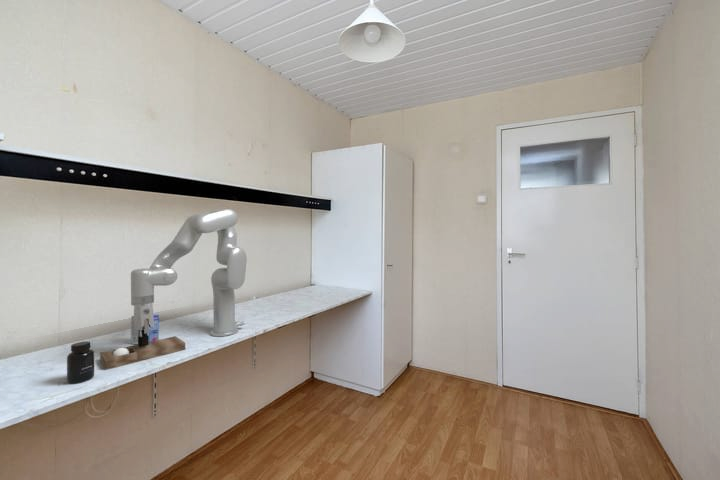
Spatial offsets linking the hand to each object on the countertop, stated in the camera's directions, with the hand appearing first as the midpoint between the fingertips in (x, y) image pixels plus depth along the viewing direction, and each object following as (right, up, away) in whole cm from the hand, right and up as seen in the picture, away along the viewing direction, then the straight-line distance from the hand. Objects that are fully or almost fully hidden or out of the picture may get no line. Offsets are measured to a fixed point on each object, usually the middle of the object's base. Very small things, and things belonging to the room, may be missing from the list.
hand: (143, 345), depth 124 cm
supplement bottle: (-6, -5, -20) cm, 22 cm away
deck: (0, -4, 0) cm, 4 cm away
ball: (-5, -2, -6) cm, 7 cm away
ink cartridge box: (-9, -4, +14) cm, 17 cm away
